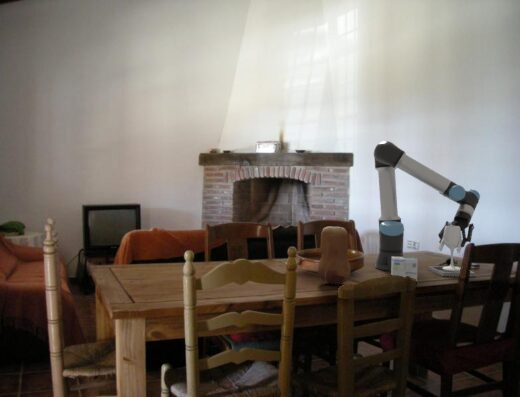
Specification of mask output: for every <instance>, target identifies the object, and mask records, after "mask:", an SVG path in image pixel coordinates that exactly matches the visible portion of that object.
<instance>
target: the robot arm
mask: <svg viewBox="0 0 520 397" xmlns="http://www.w3.org/2000/svg"><path fill="white" fill-rule="evenodd" d="M373 158H374V169H375V170H376V171H377V172H378V186H379V202H380V204H379V205H380V217H379V218H378V228H379V229H378V235H379V249H378V255H377V258H376V259H375V263H374V264H375V265H374V267H375V269H378V270H382V271H390V272H391V257H405V256H404V237H405V236H404V233H405V226H404V223H402V218H401V217H400V216H399V214H398V213H399V212H398V197H397V183H396V182H397V181H396V180H397V179H396V169H399V170H400V171H403V172H404V173H406V174H408V175H410V176H411V177H413V178H415V179H416V180H418V181H420V182H421V183H423V184H425V185H427V186H428V187H430V188H432V189H434V190H435V191H437V192H439V195H442V196H443V197H446V198H447V199H448V200H451V201H453V202H455V203H457V205H459V206H458V208H457V211H456V213H455V216H454V217H453V220H452V221H451V222H450V221H448V220H447V221H445V224H444V226H443V227H442V229H441V230H440V232H438V237H439V241H438V242H439V245H438V250H439V251H440V252H442V251H443V249H444V246H445V243H444V240H443V235H444V229H445V226H459V227H460V230H461V240H460V242H459V245H458V247H457V248H455V249H456V252H457V254H460V252H461V251H462V249H463V248H464V247H465V246H466V244H467V243H471V242H472V236H473V230H474V229H475V226H474V223H470V222H471V220H472V218H473V217H474V216H473V215H474V213H475V211H476V208H477V206H478V205H479V202H480V199H481V195H480V193H479V191H478V190H476V189H472V188H470V189H467V190H465V188H464V187H463V186H462V185H460V184H458V183H456V182H454V181H452V180H451V179H449V178H447V177H445V176H443V175H442V174H440V173H438V172H436V171H435V170H433V169H431V168H430V167H428V166H426V165H425V164H422V163H421V162H420V161H418V160H416V159H414V158H412V157H411V156H409V155H407V154H406V152H405V151H404V150H402V149H401V148H399V147H398V146H397V145H396V144H395V143H394V142H391V141H389V140H383V141H381V142H379V143H378V144H377V145H376V146H375V148H374V150H373ZM467 228H468V229H467ZM466 229H467V236H466Z"/></svg>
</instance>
